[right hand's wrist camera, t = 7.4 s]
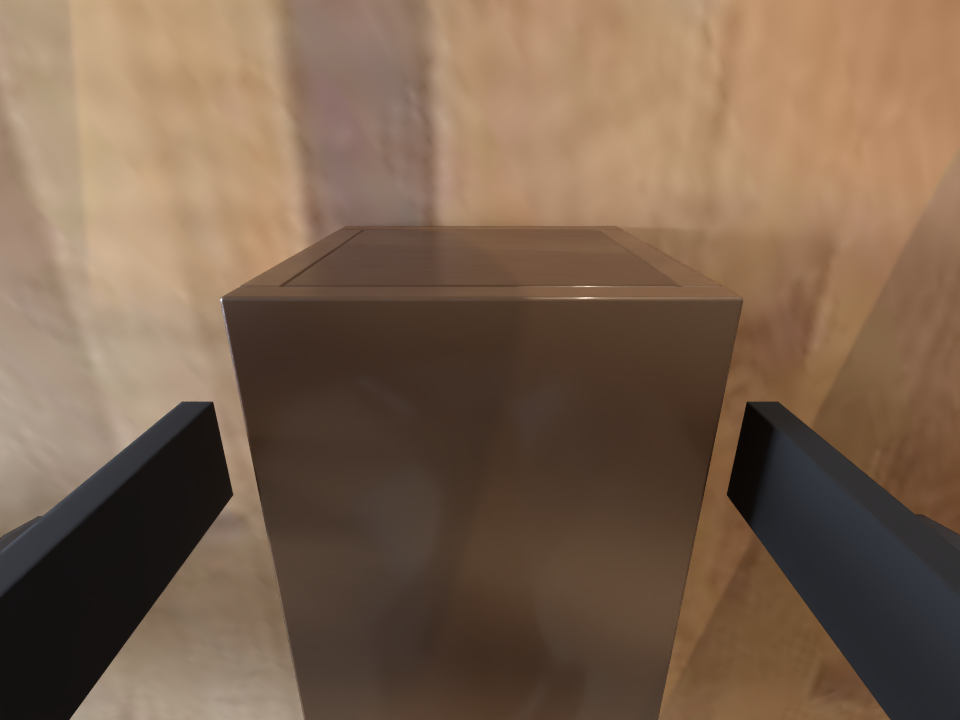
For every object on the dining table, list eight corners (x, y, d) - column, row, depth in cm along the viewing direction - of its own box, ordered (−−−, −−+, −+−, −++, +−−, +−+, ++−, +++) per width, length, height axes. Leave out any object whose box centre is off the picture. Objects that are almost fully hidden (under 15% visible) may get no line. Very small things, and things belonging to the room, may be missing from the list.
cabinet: (577, 631, 27) (626, 878, 18) (384, 631, 27) (334, 878, 18) (617, 226, 19) (745, 297, 10) (343, 226, 19) (217, 297, 10)
